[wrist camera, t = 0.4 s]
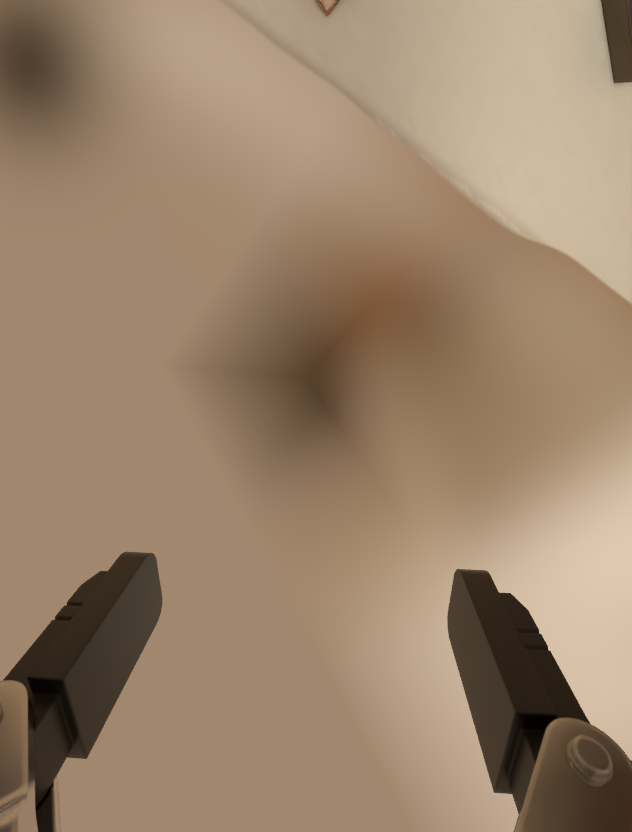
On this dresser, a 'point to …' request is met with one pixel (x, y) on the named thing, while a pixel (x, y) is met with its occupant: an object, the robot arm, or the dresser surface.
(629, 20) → the duster
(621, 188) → the dresser surface
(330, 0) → the chalkboard
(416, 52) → the dresser surface
